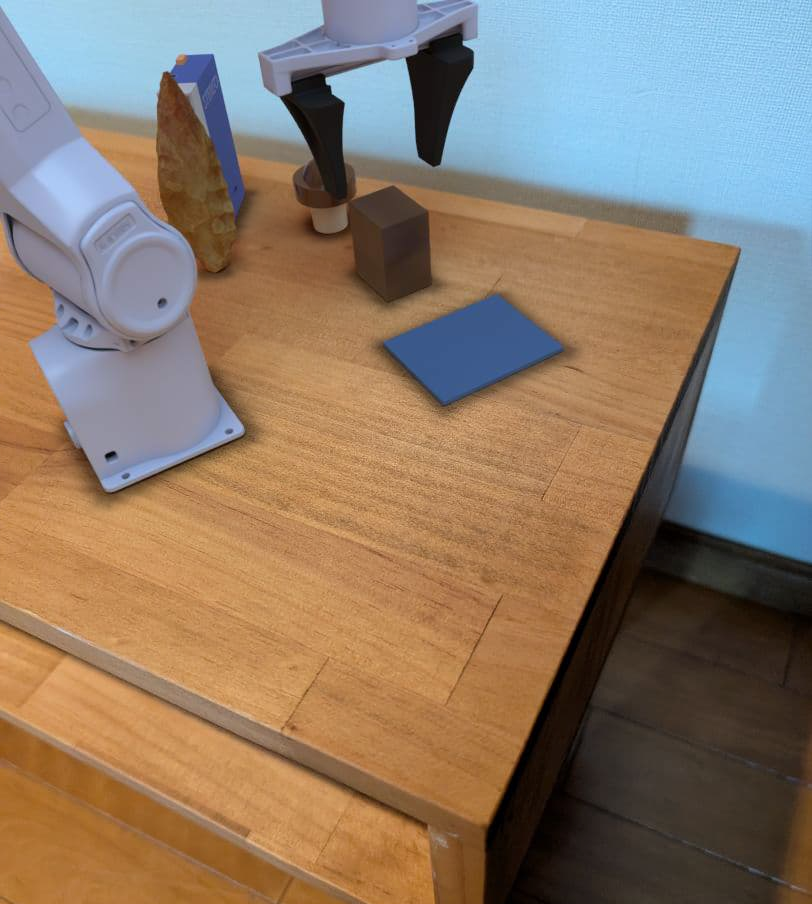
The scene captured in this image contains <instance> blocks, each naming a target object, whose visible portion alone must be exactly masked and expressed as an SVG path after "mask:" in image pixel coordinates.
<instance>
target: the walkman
mask: <svg viewBox="0 0 812 904" xmlns="http://www.w3.org/2000/svg"><path fill="white" fill-rule="evenodd" d="M169 73H170V74H171V75H172V77H173V78H174V80H175V81H176V82H177V83H178V86H179V87H180V88H181V89H182V91H183V93H184V94H185V95H186V97H187V99H188V100H189V101H190V103H191V106H192V107H193V109H194V112H195V114H196V115H197V116H198V118H199V120H200V121H201V123H202V124H203V126H204V128H205V130H206V133H207V135H208V136H209V137H210V138H211V140H212V141H213V143H214V147H215V149H216V154H217V157H218V160H219V161H220V164H221V167H222V172H223V177H224V179H225V181H226V183H227V185H228V192H229V198H230V200H231V202H232V204H233V209H234V214H235V215H234V220H235V221H236V220H237V219H236V218H237V216H238V214H239V211H240V208H241V206H242V204H243V201H244V198H245V196H246V189H245V184H244V181H243V176H242V173H241V167H240V164H239V158H238V155H237V150H236V146H235V141H234V138H233V131H232V129H231V124H230V120H229V115H228V111H227V108H226V106H227V105H226V102H225V98H224V97H225V96H224V94H223V89H222V85H221V81H220V75H219V71H218V68H217V63H216V59H215V54H214V53H201V54H199V53H198V54H186V53H185V54H178V56H177V57H176V59H175V64H174V66H173V67H172V69H171V70H170V71H169ZM159 91H160V88H159V89H158V90H157V92H156V97H157V98H158V96H159Z"/></svg>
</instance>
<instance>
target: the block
mask: <svg viewBox="0 0 812 904" xmlns="http://www.w3.org/2000/svg"><path fill="white" fill-rule="evenodd" d="M347 208H348V215H349V223H350V232H351V239H352V248H353V256H354V264H355V272H356V275H357V276H358V277H360V278H361V279H362V280H363V281H364V282H365V283H366V284H367V285H368V286H369V287H371V288H372V289H373V290H374V291H375V292H376V293H377V294H378V295H379V296H380V297H382V299H384V300H385V302H387V303H390V302H393V301H396V300H398V299H400V298H402V297H406V296H407V295H410V294H413V293H415V292H417V291H421V290H422V289H424V288H427V287H430V286H432V257H431V237H430V236H431V234H430V233H431V232H430V214H429V210H428V209H426V208H425V207H424V206H422V205H421V204H419V203H418V202H417V201H415V200H414V199H413V198H411V197H410V196H409V195H408V194H406V193H404V192H403V191H402V190H401V189H399V188H398V187H396V186H395V185H393V184H392V185H390V186H387V187H384V188H382V189H379V190H376V191H372V192H370V193H367V194H364V195H362V196H359V197H356V198H353V199H351V200H350V201H348V202H347Z"/></svg>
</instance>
